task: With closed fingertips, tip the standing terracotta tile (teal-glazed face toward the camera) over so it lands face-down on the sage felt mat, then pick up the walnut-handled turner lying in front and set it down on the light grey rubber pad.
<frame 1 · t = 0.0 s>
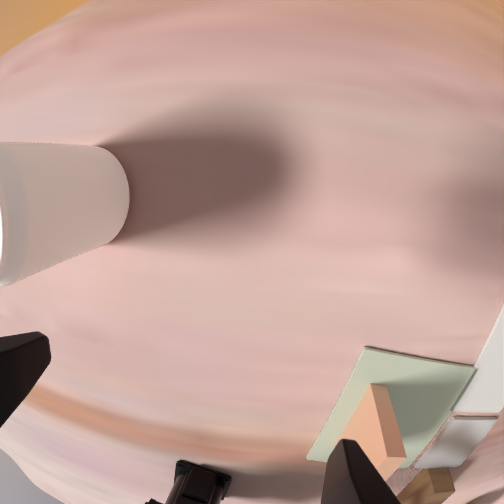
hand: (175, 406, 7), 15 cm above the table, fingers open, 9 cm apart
felt mat: (391, 419, 23), on the table
turner: (419, 483, 25), on the table
grey cylinder: (94, 196, 22), on the table
tile: (358, 418, 23), resting on felt mat
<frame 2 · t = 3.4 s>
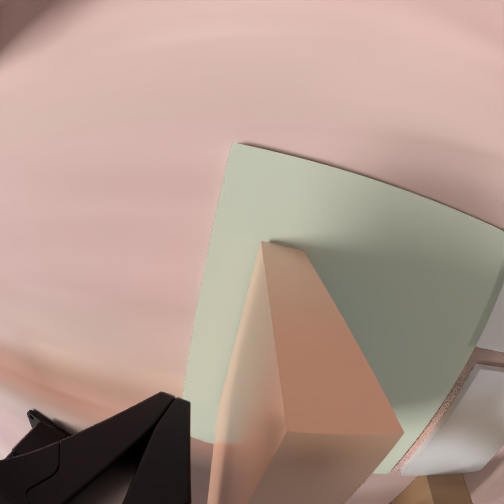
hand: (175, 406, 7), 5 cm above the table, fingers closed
felt mat: (339, 358, 12), on the table
turner: (410, 499, 14), on the table
tile: (254, 344, 12), point 1 cm above the table, tilted 10°, touching felt mat
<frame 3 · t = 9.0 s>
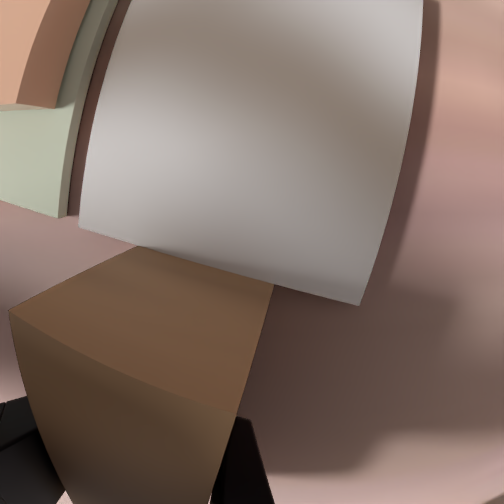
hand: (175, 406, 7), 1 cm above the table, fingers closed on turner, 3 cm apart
felt mat: (12, 22, 6), on the table
turner: (187, 385, 8), on the table, touching gripper
when the fingers open (3 cm above the table, at t = 12.9 s): turner drops 2 cm, resting on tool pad.
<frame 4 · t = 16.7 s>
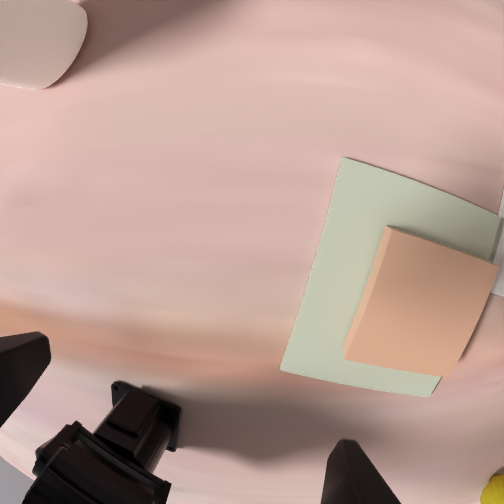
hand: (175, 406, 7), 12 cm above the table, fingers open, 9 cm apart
felt mat: (399, 296, 18), on the table
lemon: (492, 476, 21), on the table
grey cylinder: (57, 48, 17), on the table
tile: (366, 294, 17), point 1 cm above the table, tilted 90°, touching felt mat
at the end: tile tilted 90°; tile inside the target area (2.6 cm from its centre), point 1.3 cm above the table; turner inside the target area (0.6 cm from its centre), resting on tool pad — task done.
